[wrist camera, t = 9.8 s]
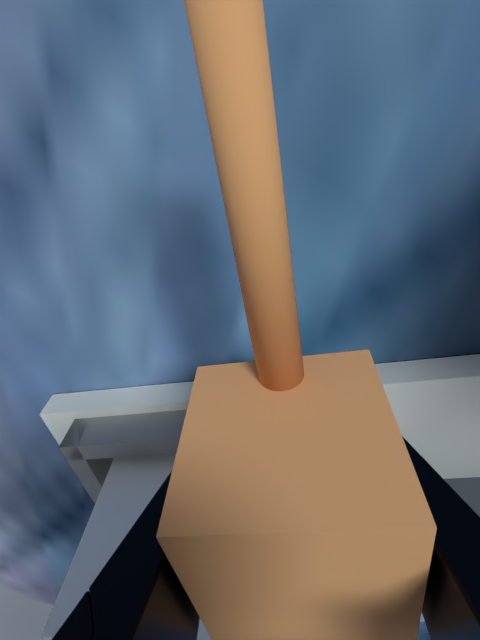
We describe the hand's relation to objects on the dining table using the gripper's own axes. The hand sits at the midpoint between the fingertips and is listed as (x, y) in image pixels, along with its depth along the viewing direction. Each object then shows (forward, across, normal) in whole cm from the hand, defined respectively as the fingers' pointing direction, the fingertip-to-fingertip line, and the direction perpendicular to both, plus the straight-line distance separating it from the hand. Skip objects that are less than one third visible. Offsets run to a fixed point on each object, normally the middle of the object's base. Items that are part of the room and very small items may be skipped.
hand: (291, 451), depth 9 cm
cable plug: (+1, 0, -4) cm, 4 cm away
